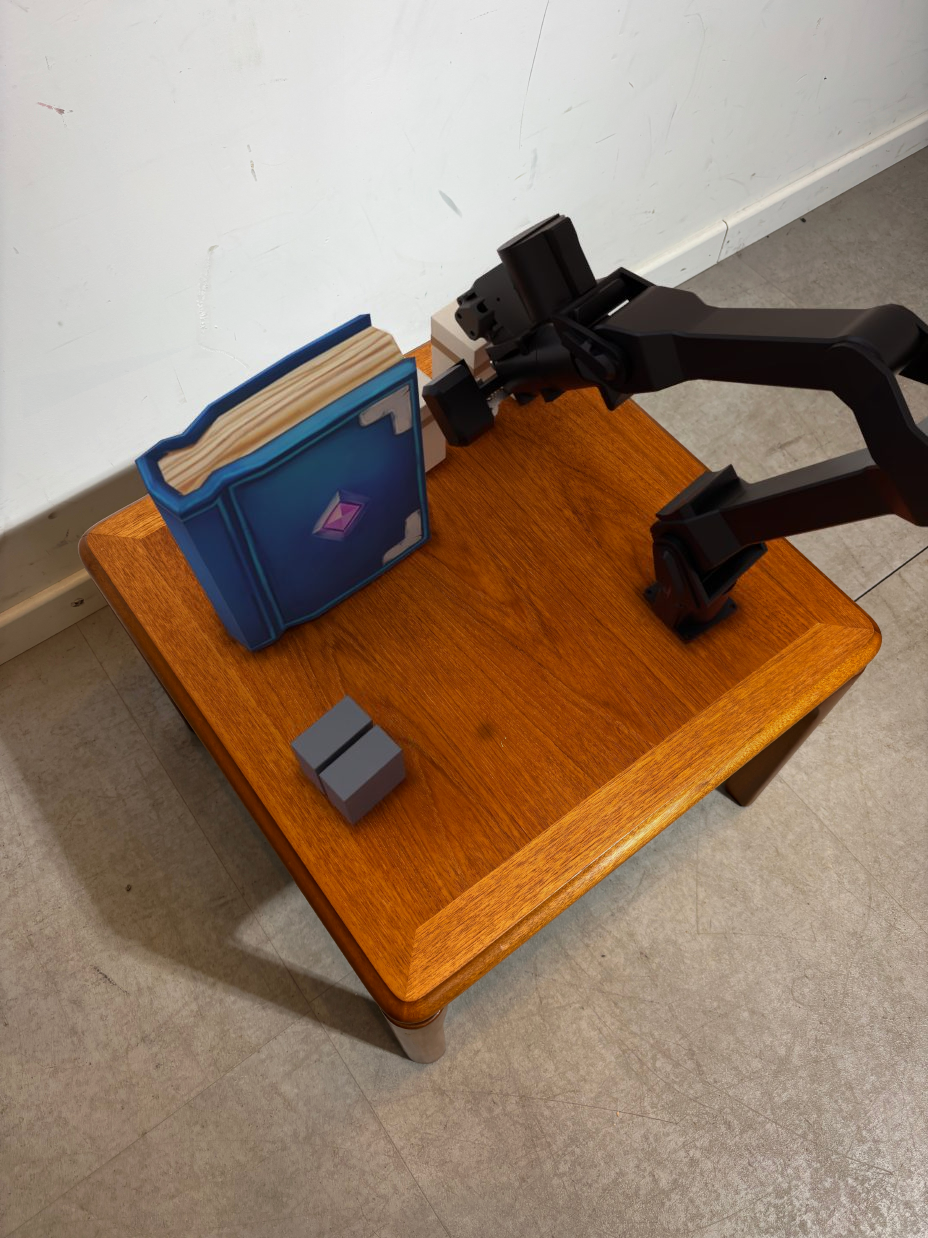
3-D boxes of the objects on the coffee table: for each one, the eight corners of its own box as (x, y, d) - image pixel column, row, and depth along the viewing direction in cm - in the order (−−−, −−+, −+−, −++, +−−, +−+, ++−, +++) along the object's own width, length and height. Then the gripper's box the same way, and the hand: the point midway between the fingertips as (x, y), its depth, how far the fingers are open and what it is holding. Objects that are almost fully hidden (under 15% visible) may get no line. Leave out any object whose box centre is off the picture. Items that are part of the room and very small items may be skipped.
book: (246, 671, 80) (168, 513, 58) (204, 616, 83) (114, 445, 61) (435, 542, 87) (429, 356, 65) (390, 495, 90) (371, 300, 67)
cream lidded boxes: (542, 386, 96) (551, 315, 87) (421, 476, 91) (418, 410, 82) (502, 355, 98) (507, 282, 89) (382, 441, 93) (374, 373, 84)
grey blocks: (355, 725, 78) (347, 694, 72) (406, 777, 76) (402, 749, 70) (302, 771, 76) (289, 743, 70) (352, 826, 74) (344, 802, 68)
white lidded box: (495, 421, 94) (501, 332, 83) (471, 439, 93) (474, 351, 82) (455, 388, 96) (456, 297, 85) (432, 405, 95) (429, 315, 84)
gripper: (600, 211, 75) (500, 252, 88) (434, 322, 69) (355, 348, 82) (652, 333, 79) (550, 354, 93) (501, 448, 73) (415, 452, 87)
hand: (470, 374), depth 88 cm, fingers open, 6 cm apart
